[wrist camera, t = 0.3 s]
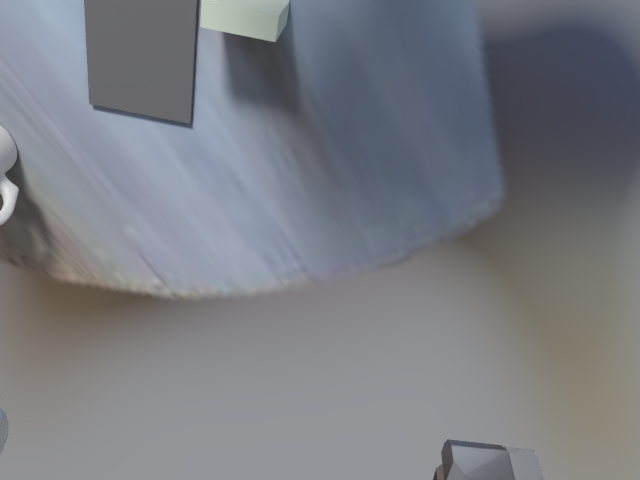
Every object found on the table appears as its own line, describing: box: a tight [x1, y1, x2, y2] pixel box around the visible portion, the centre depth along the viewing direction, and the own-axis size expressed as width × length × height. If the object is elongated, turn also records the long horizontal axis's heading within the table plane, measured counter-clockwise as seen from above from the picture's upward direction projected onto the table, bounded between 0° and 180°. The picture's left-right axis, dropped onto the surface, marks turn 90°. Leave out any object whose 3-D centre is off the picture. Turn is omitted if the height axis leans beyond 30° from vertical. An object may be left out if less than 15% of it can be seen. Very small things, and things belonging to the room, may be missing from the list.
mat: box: [84, 0, 198, 124], centre depth 52 cm, size 14×10×1 cm
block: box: [200, 0, 290, 42], centre depth 47 cm, size 2×6×7 cm, turn 79°
